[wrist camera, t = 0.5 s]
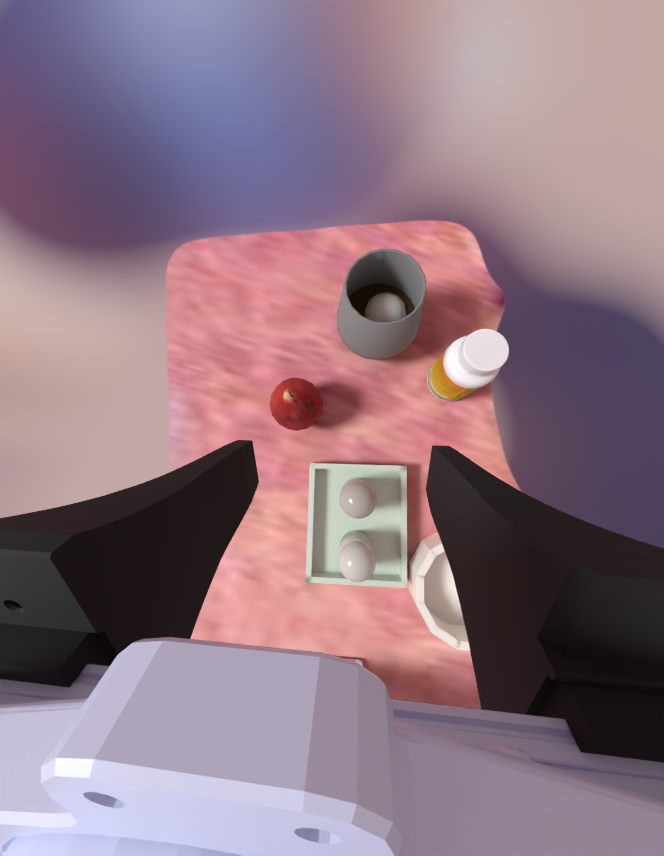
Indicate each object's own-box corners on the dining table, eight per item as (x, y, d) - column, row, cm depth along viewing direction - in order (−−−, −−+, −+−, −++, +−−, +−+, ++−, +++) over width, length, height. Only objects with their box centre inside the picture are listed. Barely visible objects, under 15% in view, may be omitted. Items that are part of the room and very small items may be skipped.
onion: (333, 401, 35) (328, 383, 27) (310, 441, 35) (299, 435, 27) (293, 380, 36) (277, 356, 28) (270, 419, 35) (248, 407, 27)
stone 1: (372, 511, 33) (378, 523, 26) (340, 510, 33) (338, 521, 27) (373, 478, 33) (378, 482, 27) (341, 477, 33) (339, 481, 27)
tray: (403, 580, 32) (407, 587, 30) (308, 575, 33) (305, 582, 31) (403, 465, 34) (406, 465, 32) (312, 462, 34) (309, 463, 32)
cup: (368, 286, 37) (375, 221, 27) (427, 326, 36) (457, 274, 26) (323, 342, 36) (313, 297, 26) (382, 384, 35) (395, 354, 25)
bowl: (508, 632, 31) (529, 654, 27) (409, 626, 31) (416, 647, 28) (504, 531, 32) (523, 539, 29) (408, 526, 33) (415, 534, 29)
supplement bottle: (448, 411, 34) (487, 391, 24) (416, 379, 35) (442, 348, 25) (480, 381, 34) (531, 350, 25) (448, 351, 35) (486, 309, 25)
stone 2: (372, 565, 32) (378, 590, 26) (339, 563, 32) (336, 588, 26) (372, 531, 32) (378, 547, 26) (339, 529, 33) (337, 545, 26)
